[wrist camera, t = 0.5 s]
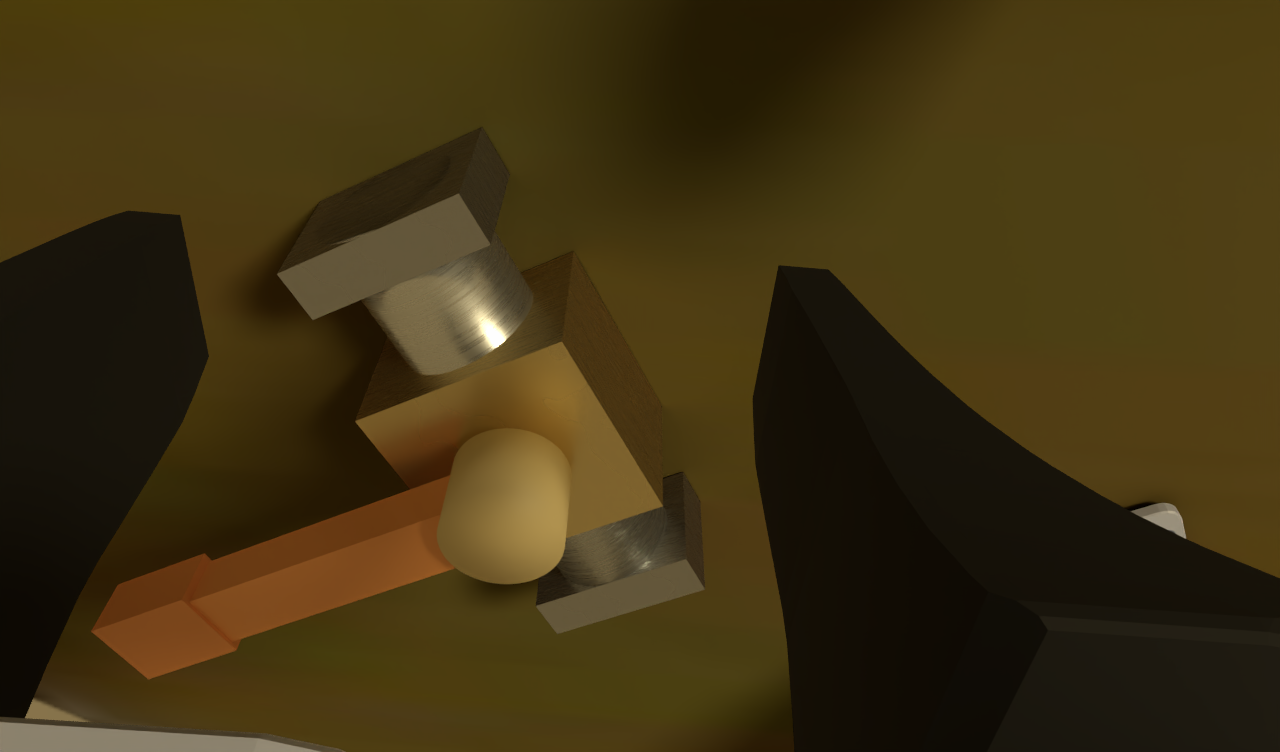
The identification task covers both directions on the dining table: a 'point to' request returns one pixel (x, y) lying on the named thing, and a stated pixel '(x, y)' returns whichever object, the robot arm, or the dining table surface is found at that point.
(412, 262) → the valve
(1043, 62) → the dining table surface
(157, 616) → the lever
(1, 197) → the dining table surface
